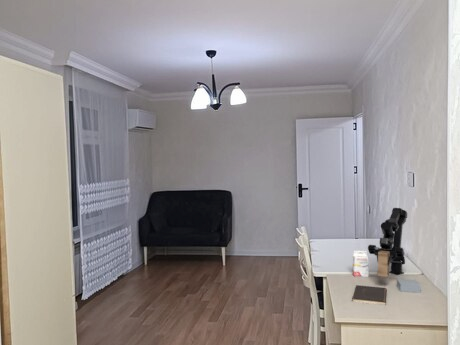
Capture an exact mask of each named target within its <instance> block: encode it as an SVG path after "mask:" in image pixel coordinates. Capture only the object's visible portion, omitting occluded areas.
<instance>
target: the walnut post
mask: <svg viewBox="0 0 460 345" xmlns="http://www.w3.org/2000/svg"><path fill="white" fill-rule="evenodd" d="M389 257H390V252H388V251H379V252H378V262H377V277H384V278H388V277H389V276H390V273H389V272H390V266H391V263H390V264H389V265H388V260H389Z"/></svg>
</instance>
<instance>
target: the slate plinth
mask: <svg viewBox="0 0 460 345" xmlns="http://www.w3.org/2000/svg"><path fill="white" fill-rule="evenodd" d="M396 287H397V289H398V290H399V292H401V293H421V284H420V282H418V280H417V279H407V278H406V279H405V278H404V279H403V278H400V279H399V278H397V279H396Z"/></svg>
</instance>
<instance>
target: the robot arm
mask: <svg viewBox="0 0 460 345" xmlns="http://www.w3.org/2000/svg"><path fill="white" fill-rule="evenodd" d="M407 219H408V212H407V210H405V209H403V208H400V207H393V208H392V209H391V215H390V217H389V218H388V219H386V220H385V221H384V222H382V223H381V224H380V228H381V233H382V235H383V236H382V237H379V247H378V246H377V245H375V244H369V245H368V246H367V250H368V253H369V254H370V255H374V256H375V257H376V262H377V263H378V252H379V251H388V252H390V257H389V260H388V265H389V264H390V265H389V266H390V270H389V274H393V275H403V274H404V273H405V272H404V271H403V265H405V264H406V258H405V252H404V249H403V247H402V239H403V238H402V235H403V227H404V224H405V223H406V222H407Z"/></svg>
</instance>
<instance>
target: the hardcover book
mask: <svg viewBox="0 0 460 345" xmlns="http://www.w3.org/2000/svg"><path fill="white" fill-rule="evenodd" d="M387 292H388V289H387V287H380V286H370V285H355V289H354V292H353V296H352V302H353V301H356V302H355V303H362V302H364V304H365V303H366V304H372V303H374V304H375V305H384V306H386V305H387Z"/></svg>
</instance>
